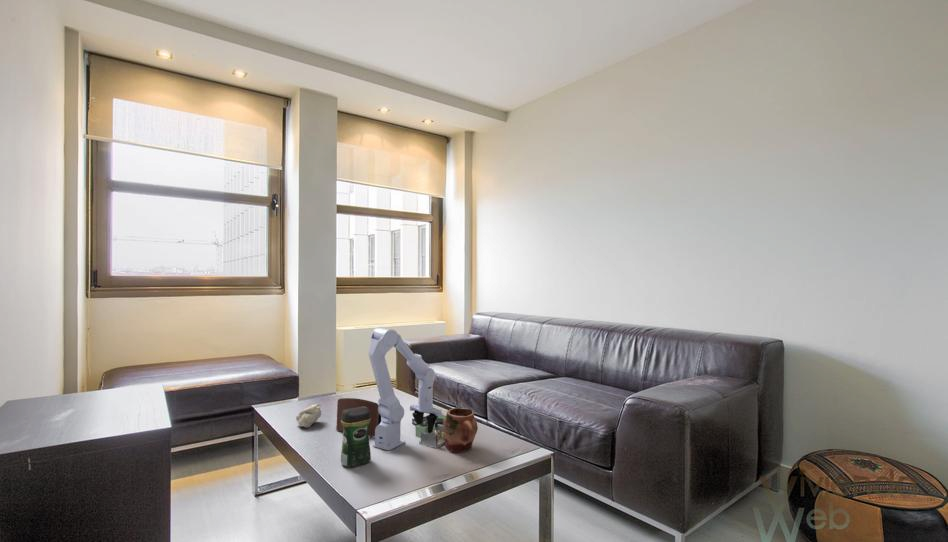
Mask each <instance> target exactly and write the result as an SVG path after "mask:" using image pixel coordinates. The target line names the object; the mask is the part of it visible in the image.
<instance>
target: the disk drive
mask: <svg viewBox="0 0 948 542" xmlns="http://www.w3.org/2000/svg"><path fill="white" fill-rule="evenodd" d="M426 416H427V415H424V416H423V422H425V421H427V418H426ZM445 417H446V415H445V414H442V415H441V416H438V417H437V419H436V421H435V429H437V425H438V424H441V425H443V420H444V418H445ZM411 424H412V425H413V426H415V427H416V426H417V424H416V421H415V419H414V418H412V422H411Z"/></svg>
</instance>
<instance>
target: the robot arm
mask: <svg viewBox="0 0 948 542" xmlns="http://www.w3.org/2000/svg"><path fill="white" fill-rule="evenodd" d="M369 339H370V345H369V351H368V357H369V358H368V359H369V360H370V366H371V368H372V372H373V376H374V379H375V383H376V387H377V390H378V391H377V392H378V395H379V399H378V400H377V404H378V405H379V407H378V412H379V414H380V415H381V423H380V424H379V425H378V426H377V427H376V429H375V437H374V444H373V445H372V447H375V448H378V449H383V450H386V451H391V450H393V449H395V448H397V447H399V446H401V445H402V444H405V443H406V441H405V440H403V439H401V422H402V419H403V418H404V417H405V409H404V406H402V404H401V402H400V400H399V398H398V397H397V396H396V394H395V391H394V388H393V384H392V379H391V376H390V372H389V368H388V364H387V360H386V355H387V353H388V352H389V351H390V350H392V348H395V349H396V350H397V351H398V353H400V354H401V355H402V357H404V358H405V359H406V365H407V366H408V367H409V368H410V370H411V371H412V372H413V373H414V375H415V379H418V397H417V398H418V401H417V402H418V403H417V404H410V405H409V411H412V412H413V413H412V412H411V413H412V417H413V419H415V421H416V424H417V425H419V424H421V423H423V417H425V416H426V418H427V422H428V433H431V432H433V427H434V424H435V421H436V419H437V417H438V416H441V415H443V411H442V410H441V409H438V408H436V407H434V405H433V399H434V387H433V386H434V383H435V380H436V379H437V374H436V373H435V372H436V371H435V369H433V368H431V367H429V364H428V363H426V362H425V361H424V359H422V358H423V356H422V355H421V354H418V353H414V352H413V351H412V350H411V348H410V347H409V346H408V345H407V344H406V341H404V340H403V338H402V336H401V335H400V333H398V332H397V331H396V330H395V329H392V328H391V329H388V328H384V327H380V326H379V327H376V328H375V329H374V330H373V331H372V332H371V335H370V336H369ZM425 414H428V415H425Z"/></svg>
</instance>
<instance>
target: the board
mask: <svg viewBox="0 0 948 542" xmlns="http://www.w3.org/2000/svg"><path fill="white" fill-rule="evenodd" d="M421 432H426V433H428V422H427V421H425V422H423V423H421V424H419V425H417V426H415V437H419V438H421ZM435 433H436V428H435V424H434V427H433V432H431V433H430V434H435Z"/></svg>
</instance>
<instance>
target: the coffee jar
mask: <svg viewBox="0 0 948 542" xmlns="http://www.w3.org/2000/svg"><path fill="white" fill-rule="evenodd" d="M370 420H371V417H370V410H369V409H368V408H367V407H365V406H362V407H357V408H352V409H346V410H343V411H342V417H341V423H342V426H343V432H342V441H341V442H342V443H341V450H340V453H341V455H340V463H341V465H342V466H343V467H346V468H355V467H358V466H362V465H366V464H368V463H370V462H371V460H372V459H371V458H372V456H371V455H372V453H371V446H370V445H371V444H370V436H369V423H370Z"/></svg>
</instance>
